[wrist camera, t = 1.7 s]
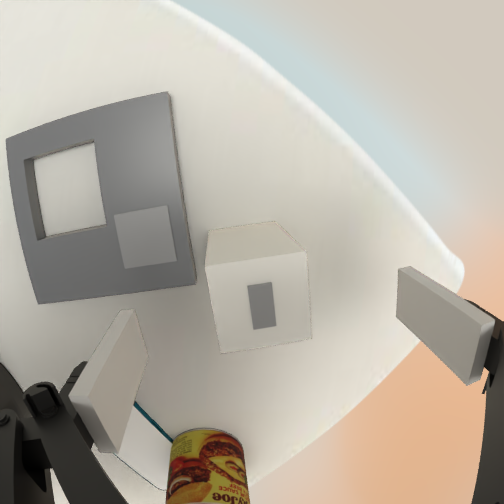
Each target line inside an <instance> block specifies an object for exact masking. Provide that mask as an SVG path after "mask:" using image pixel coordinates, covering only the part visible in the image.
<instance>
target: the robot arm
mask: <svg viewBox="0 0 504 504" xmlns="http://www.w3.org/2000/svg"><path fill="white" fill-rule="evenodd" d="M396 317H397V318H398V319H399V320H400V321H401V322H402V323H403V324H404V325H405V326H406V327H407V328H408V329H409V330H410V331H412V332H413V333H414V334H415V335H416V336H417V337H418V338H419V339H420V340H421V341H422V342H423V343H424V344H425V345H426V346H427V347H428V348H429V349H430V350H431V351H432V352H433V353H434V354H435V355H436V356H437V357H438V358H440V360H441V361H443V362H444V363H445V364H446V365H447V366H448V367H449V368H450V369H451V370H452V371H453V372H454V373H455V374H456V375H457V376H458V377H459V378H460V379H461V380H462V381H463V382H464V383H465V384H466V385H467V386H468V385H470V384H472V383H474V382H476V381H478V380H480V378H481V375H482V372H483V368H484V367H485V368H486V369H487V370H488V371H489V374H488V377H487V380H486V383H485V386H484V389H483V392H482V394H484V393H485V391H486V410H485V422H484V433H483V442H482V450H481V456H480V463H479V469H478V475H477V481H476V485H475V490H474V495H473V499H472V503H471V504H504V321H501V320H500V319H498V318H497V317H495V316H494V315H492V314H491V313H489V312H488V311H485V310H484V309H483V308H481V307H479V306H478V305H477V304H475V303H474V302H471V301H469V300H466V299H463V298H461V297H460V296H458V295H456V294H455V293H453V292H452V291H450V290H448V289H447V288H445V287H444V286H442V285H440V284H439V283H437V282H435V281H434V280H432V279H431V278H429V277H427V276H426V275H424V274H422V273H421V272H419V271H417V270H416V269H414V268H412V267H411V266H410V267H405V268H400V269H398V290H397V309H396ZM148 358H149V356H148V352H147V349H146V346H145V343H144V339H143V336H142V333H141V329H140V326H139V322H138V319H137V315H136V312H135V309H129V310H120V312H119V313H118V315H117V316H116V318H115V319H114V321H113V323H112V324H111V326H110V327H109V329H108V330H107V332H106V334H105V335H104V337H103V338H102V340H101V342H100V343H99V345H98V346H97V348H96V350H95V351H94V353H93V355H92V356H91V358H90V360H89V361H88V362H82V363H81V364H79V365H78V366H77V367H76V368H74V370H73V372H72V373H71V375H70V377H69V378H68V380H67V381H66V384H65V385H64V386H63V388H62V389H61V391H60V393H58V391H57V389H56V387H55V386H54V385H53V383H50V382H40V383H36V384H34V385H32V386H30V387H29V388H28V389H27V390H26V391H25V392H24V394H23V392H22V391H21V389H20V388H19V386H18V385H17V383H16V382H15V380H14V379H13V378H12V376H11V375H10V374H9V373H8V371H7V370H6V369H5V368H4V367H3V366H2V365H1V364H0V504H55V502H54V496H53V489H52V481H51V473H50V468H53V470H54V472H55V475H56V477H57V479H58V481H59V483H60V485H61V487H62V489H63V492H64V494H65V496H66V497H67V499H68V501H69V503H70V504H128V503H127V501H126V500H125V499H124V497H123V496H122V495H121V493H120V492H119V491H118V489H117V488H116V487H115V485H114V484H113V482H112V481H111V480H110V478H109V477H108V475H107V474H106V472H105V471H104V469H103V468H102V466H101V465H100V463H99V462H98V460H97V459H96V457H95V456H94V454H93V453H92V451H91V448H92V445H93V442H94V443H95V445H96V446H97V448H98V450H99V451H100V452H103V453H119V450H120V447H121V443H122V440H123V437H124V433H125V430H126V427H127V423H128V420H129V417H130V414H131V410H132V407H133V404H134V401H135V398H136V395H137V392H138V388H139V385H140V382H141V379H142V376H143V373H144V370H145V367H146V364H147V361H148Z"/></svg>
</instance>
